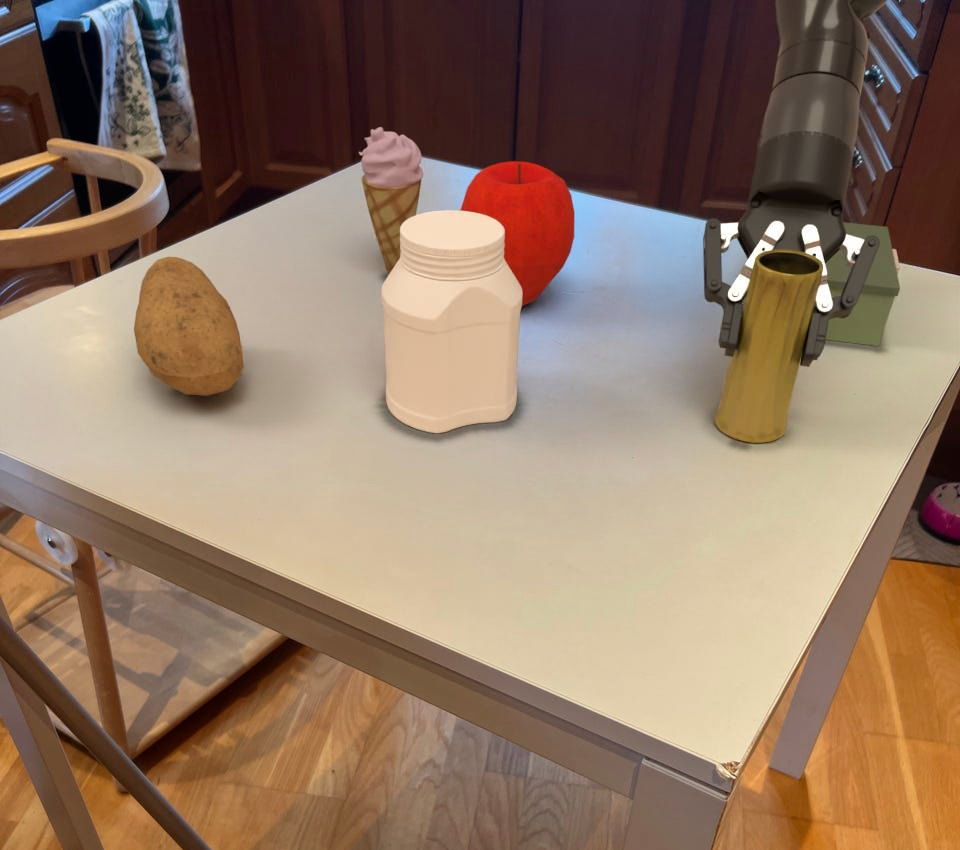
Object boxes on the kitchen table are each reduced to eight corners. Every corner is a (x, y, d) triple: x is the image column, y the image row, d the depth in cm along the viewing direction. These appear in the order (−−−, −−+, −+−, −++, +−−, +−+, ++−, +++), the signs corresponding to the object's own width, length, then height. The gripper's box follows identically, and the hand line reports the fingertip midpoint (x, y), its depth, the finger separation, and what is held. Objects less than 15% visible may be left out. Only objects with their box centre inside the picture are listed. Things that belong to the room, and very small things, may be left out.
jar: (490, 366, 91) (496, 200, 81) (532, 415, 84) (545, 242, 74) (372, 386, 87) (363, 215, 77) (407, 439, 81) (402, 261, 71)
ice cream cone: (352, 272, 106) (342, 122, 96) (395, 257, 109) (390, 111, 99) (392, 291, 102) (386, 138, 92) (435, 276, 106) (434, 125, 95)
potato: (152, 432, 81) (127, 326, 74) (141, 349, 92) (118, 250, 85) (256, 419, 83) (241, 314, 77) (234, 339, 94) (218, 241, 87)
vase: (780, 410, 86) (823, 248, 76) (790, 446, 82) (836, 280, 72) (711, 405, 86) (745, 244, 77) (717, 441, 82) (753, 275, 72)
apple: (590, 314, 100) (605, 177, 90) (487, 334, 96) (492, 192, 87) (536, 271, 107) (545, 141, 98) (439, 288, 103) (438, 153, 94)
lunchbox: (875, 282, 107) (892, 227, 103) (886, 348, 96) (905, 288, 91) (753, 268, 109) (765, 213, 105) (748, 331, 98) (761, 272, 94)
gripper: (719, 119, 76) (681, 330, 75) (910, 136, 73) (872, 354, 73) (710, 169, 83) (675, 362, 83) (884, 187, 81) (849, 385, 80)
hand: (768, 357), depth 78 cm, fingers closed on vase, 5 cm apart
